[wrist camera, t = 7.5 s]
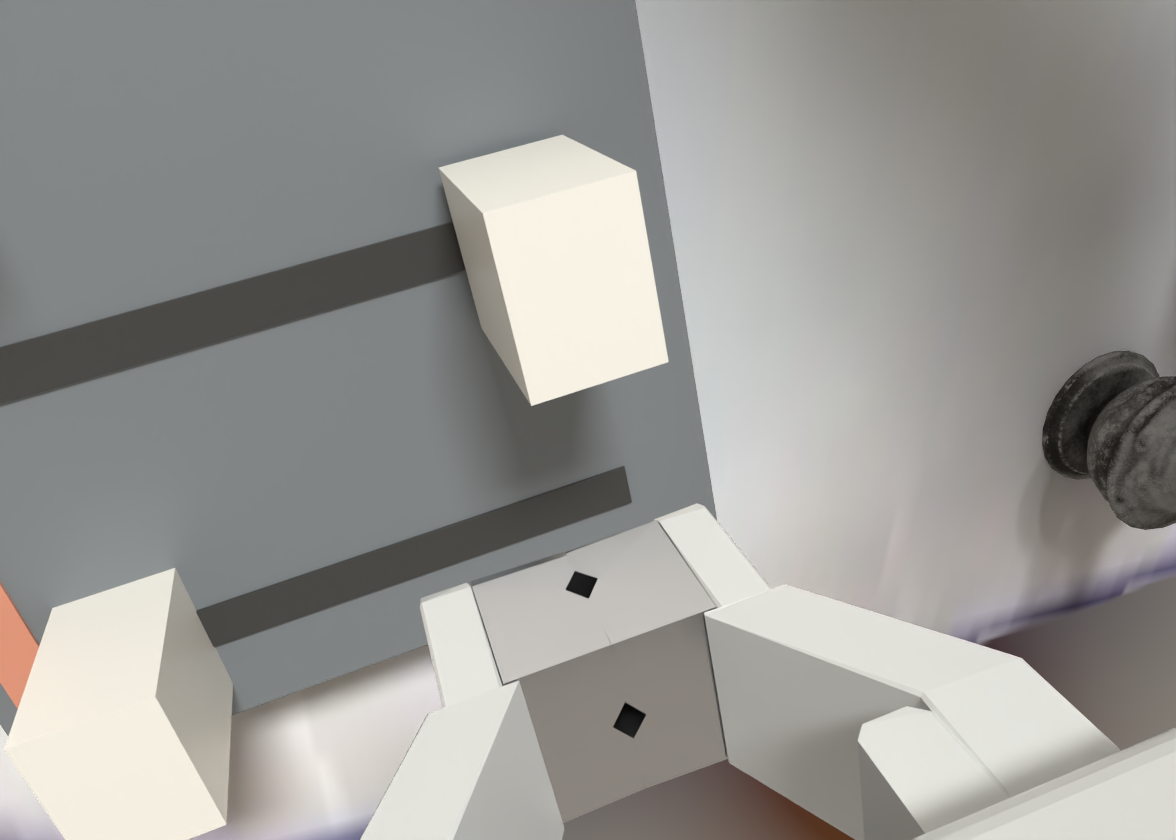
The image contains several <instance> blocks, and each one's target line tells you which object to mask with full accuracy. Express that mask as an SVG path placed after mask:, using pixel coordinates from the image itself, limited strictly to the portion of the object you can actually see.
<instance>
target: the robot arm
mask: <svg viewBox="0 0 1176 840" xmlns="http://www.w3.org/2000/svg"><path fill="white" fill-rule="evenodd" d="M470 583H471V586H472V589H471V586H470V585H469V584H468V583H464V584H461V585H458V586H455V587H452V588H449V589H446V590H443V591H440V592H437V593H434V594H431V595H428V596H425V597H423V598H421V599H420V610H421V615H422V619H423V624H424V628H425V632H426V637H427V641H428V646H429V650H430V655H431V659H432V663H433V668H434V672H435V677H436V681H437V686H438V690H439V695H440V699H441V703H442V708H441V709H439V710H436V711H433V712H431V713H429V714H427V716H426V718H425V720H424V722H423V723H422V725H421V727H420V729H419V731H418V733H417V735H416V737H415V738H414V740H413V742H412V744H411V746H410V748H409V750H408V751H407V753H406V755H405V757H404V759H403V761H402V763H401V764H400V766H399V768H398V770H397V772H396V774H395V776H394V777H393V779H392V781H391V783H390V785H389V787H388V789H387V791H386V792H385V794H384V796H383V798H382V800H381V802H380V804H379V805H378V807H377V809H376V811H375V813H374V815H373V817H372V818H371V820H370V822H369V824H368V826H367V828H366V830H365V832H364V833H363V835H362V837H361V839H360V840H562V837H563V833H564V829H565V828H564V825H563V823H566V822H568V821H570V820H573V819H575V818H577V817H580V816H582V815H584V814H587V813H589V812H591V811H594V810H596V809H598V808H601V807H603V806H605V805H608V804H610V803H612V802H615V801H617V800H620V799H622V798H624V797H627V796H629V795H631V794H634V793H636V792H638V791H641V790H643V789H645V788H648V787H651V786H654V785H657V784H659V783H662V782H665V781H668V780H671V779H673V778H676V777H679V776H682V775H684V774H687V773H690V772H693V771H696V770H698V769H701V768H704V767H707V766H709V765H712V764H715V763H718V762H720V761H723V760H726V759H728V760H729V763H730V764H732V765H733V766H735V767H737V768H738V769H740V770H742V771H743V772H745V773H747V774H748V775H750V776H752V777H753V778H755V779H756V780H758V781H760V782H761V783H763V784H765V785H767V786H768V787H770V788H771V789H773V790H775V791H776V792H778V793H779V794H781V795H783V796H784V797H786V798H788V799H789V800H791V801H793V802H794V803H796V804H798V805H799V806H801V807H803V808H804V809H806V810H807V811H809V812H811V813H812V814H814V815H816V816H817V817H819V818H821V819H822V820H824V821H825V822H827V823H829V824H830V825H832V826H834V827H835V828H837V829H839V830H840V831H842V832H844V833H845V834H847V835H849V836H850V837H852V838H853V839H855V840H1176V728H1173V729H1171V730H1169V731H1166V732H1164V733H1162V734H1159V735H1157V736H1155V737H1152V738H1150V739H1147V740H1145V741H1143V742H1140V743H1138V744H1136V745H1133V746H1131V747H1129V748H1126V749H1124V750H1120V749H1119V748H1118V747H1117V746H1116V745H1115V744H1114V743H1112V741H1110V740H1109V739H1108V738H1107V737H1106V736H1105V735H1104V734H1103V733H1102V732H1101V731H1099V729H1097V728H1096V727H1095V726H1094V725H1093V724H1092V723H1091V722H1090V721H1089V720H1088V719H1087V718H1085V716H1083V715H1082V714H1081V713H1080V712H1079V711H1078V710H1077V709H1076V708H1075V707H1074V706H1073V705H1071V704H1070V703H1069V702H1068V701H1067V700H1066V699H1065V698H1064V697H1063V696H1062V695H1061V694H1060V693H1059V692H1057V691H1056V690H1055V689H1054V688H1053V687H1052V686H1051V685H1050V684H1049V683H1048V682H1047V681H1046V680H1044V679H1043V678H1042V677H1041V676H1040V675H1039V674H1038V673H1037V672H1036V671H1035V670H1034V669H1033V668H1032V667H1030V666H1029V665H1028V664H1027V663H1026V662H1025V661H1024V660H1023V659H1022V658H1019V657H1017V656H1013V655H1010V654H1007V653H1004V652H1001V651H998V650H994V649H991V648H988V647H985V646H982V645H978V644H975V643H972V642H969V641H966V640H962V639H959V638H956V637H953V636H950V635H946V634H943V633H940V632H937V631H934V630H931V629H927V628H924V627H921V626H918V625H915V624H911V623H908V622H905V621H902V620H899V619H895V618H892V617H889V616H886V615H883V614H879V613H876V612H873V611H870V610H867V609H864V608H860V607H857V606H854V605H851V604H848V603H844V602H841V601H838V600H835V599H832V598H828V597H825V596H822V595H819V594H816V593H813V592H809V591H806V590H803V589H800V588H797V587H793V586H790V585H787V584H783V585H781V586H778V587H775V588H771V587H770V586H769V584H768V583H767V582H766V581H765V580H764V578H763V577H762V576H761V575H760V573H759V572H758V571H757V570H756V568H755V567H754V566H753V565H752V564H751V562H750V561H749V560H748V559H747V557H746V556H745V555H744V554H743V553H742V551H741V550H740V549H739V548H738V546H737V545H736V544H735V543H734V541H733V540H732V539H731V538H730V537H729V535H728V534H727V533H726V532H725V530H724V529H723V528H722V527H721V526H720V524H719V523H718V522H717V521H716V519H715V518H714V517H713V516H712V514H711V513H710V512H709V511H708V510H707V508H706V507H705V506H703V505H700V504H698V503H696V504H694V505H691V506H689V507H686V508H683V509H681V510H678V511H675V512H673V513H670V514H667V515H665V516H662V517H659V518H657V519H654V520H653V521H652V522H650V523H647V524H644V525H641V526H638V527H635V528H633V529H630V530H627V531H624V532H621V533H618V534H616V535H613V536H610V537H607V538H604V539H601V540H598V541H596V542H593V543H590V544H587V545H584V546H581V547H579V548H576V549H573V550H570V551H567V552H561V553H558V554H555V555H552V556H548V557H545V558H542V559H539V560H536V561H533V562H530V563H526V564H523V565H520V566H517V567H514V568H511V569H508V570H504V571H501V572H498V573H495V574H492V575H489V576H486V577H482V578H479V579H476V580H473V581H470ZM472 590H473V592H472ZM473 593H474V596H475V599H474V596H473ZM475 600H476V602H475ZM476 603H477V605H476ZM477 606H478V608H477ZM478 609H479V611H478ZM479 612H480V614H479ZM480 615H481V617H480ZM481 619H482V620H481ZM482 622H483V623H482ZM483 625H484V626H483ZM484 628H485V629H484ZM485 631H486V632H485ZM486 634H487V636H486ZM487 638H488V639H487ZM488 641H489V642H488ZM489 644H490V645H489ZM490 647H491V648H490ZM491 650H492V651H491Z"/></svg>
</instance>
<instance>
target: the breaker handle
mask: <svg viewBox="0 0 1176 840" xmlns="http://www.w3.org/2000/svg"><path fill="white" fill-rule="evenodd" d="M439 172H440V176H441V180H442V183H443V187H444V191H445V194H446V198H447V202H448V206H449V209H450V213H451V217H452V220H453V224H454V228H455V232H456V235H457V239H458V243H459V246H460V250H461V254H462V258H463V261H464V265H465V269H466V273H467V276H468V280H469V284H470V287H471V291H472V295H473V299H474V302H475V306H476V310H477V313H478V317H479V321H480V325H481V328H482V330H483V331H484V333H485V334H486V336H487V337H488V339H489V341H490V342H491V344H492V345H493V347H494V348H495V350H496V352H497V353H498V355H499V356H500V358H501V359H502V361H503V363H504V364H505V366H506V367H507V369H508V370H509V372H510V373H511V375H512V377H513V378H514V380H515V381H516V383H517V384H518V386H519V388H520V389H521V391H522V392H523V394H524V395H525V397H526V399H527V400H528V402H529V403H530V405H531V406H533V405H536V404H539V403H542V402H545V401H549V400H552V399H555V398H558V397H561V396H564V395H567V394H570V393H574V392H577V391H580V390H583V389H586V388H589V387H592V386H595V385H599V384H602V383H605V382H608V381H611V380H614V379H617V378H621V377H624V376H627V375H630V374H633V373H636V372H639V371H642V370H646V369H649V368H652V367H655V366H658V365H661V364H664V363H667V362H669V361H668V355H667V349H666V343H665V338H664V332H663V326H662V320H661V314H660V308H659V302H658V296H657V291H656V285H655V279H654V273H653V267H652V261H651V255H650V250H649V244H648V238H647V232H646V226H645V220H644V214H643V208H642V203H641V197H640V191H639V185H638V179H637V173H636V170H634V169H632V168H629V167H627V166H625V165H623V164H621V163H619V162H617V161H615V160H613V159H611V158H609V157H607V156H605V155H603V154H601V153H599V152H597V151H595V150H593V149H591V148H589V147H587V146H585V145H583V144H581V143H578V142H576V141H574V140H572V139H570V138H568V137H566V136H564V135H559V136H555V137H552V138H548V139H544V140H540V141H537V142H533V143H529V144H525V145H522V146H518V147H514V148H510V149H506V150H503V151H499V152H495V153H491V154H488V155H484V156H480V157H476V158H473V159H469V160H465V161H461V162H458V163H454V164H450V165H446V166H443V167H439Z"/></svg>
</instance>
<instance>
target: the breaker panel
mask: <svg viewBox="0 0 1176 840" xmlns="http://www.w3.org/2000/svg"><path fill="white" fill-rule="evenodd" d="M559 135H564V136H566V137H568V138H570V139H572V140H574V141H576V142H578V143H581V144H583V145H585V146H587V147H589V148H591V149H593V150H595V151H597V152H599V153H601V154H603V155H605V156H607V157H609V158H611V159H613V160H615V161H617V162H619V163H621V164H623V165H625V166H627V167H629V168H632V169H634V170H636V173H637V179H638V185H639V191H640V197H641V203H642V208H643V214H644V220H645V226H646V232H647V238H648V244H649V250H650V255H651V261H652V267H653V273H654V279H655V285H656V291H657V296H658V302H659V308H660V314H661V320H662V326H663V332H664V338H665V343H666V349H667V355H668V361H669V362H667V363H664V364H661V365H658V366H655V367H652V368H649V369H646V370H642V371H639V372H636V373H633V374H630V375H627V376H624V377H621V378H617V379H614V380H611V381H608V382H605V383H602V384H599V385H595V386H592V387H589V388H586V389H583V390H580V391H577V392H574V393H570V394H567V395H564V396H561V397H558V398H555V399H552V400H549V401H545V402H542V403H539V404H536V405H533V406H531V405H530V403H529V402H528V400H527V399H526V397H525V395H524V394H523V392H522V391H521V389H520V388H519V386H518V384H517V383H516V381H515V380H514V378H513V377H512V375H511V373H510V372H509V370H508V369H507V367H506V366H505V364H504V363H503V361H502V359H501V358H500V356H499V355H498V353H497V352H496V350H495V348H494V347H493V345H492V344H491V342H490V341H489V339H488V337H487V336H486V334H485V333H484V331H483V330H482V328H481V325H480V321H479V317H478V313H477V310H476V306H475V302H474V299H473V295H472V291H471V287H470V284H469V280H468V276H467V273H466V269H465V265H464V261H463V258H462V254H461V250H460V246H459V243H458V239H457V235H456V232H455V228H454V224H453V220H452V217H451V213H450V209H449V206H448V202H447V198H446V194H445V191H444V187H443V183H442V180H441V176H440V172H439V167H443V166H446V165H450V164H454V163H458V162H461V161H465V160H469V159H473V158H476V157H480V156H484V155H488V154H491V153H495V152H499V151H503V150H506V149H510V148H514V147H518V146H522V145H525V144H529V143H533V142H537V141H540V140H544V139H548V138H552V137H555V136H559ZM696 503H698V504H700V505H703V506H705V507H706V508H707V510H708V511H709V512H710V513H711V514H712V516H713V517H714V518H715V519H716V521H717V518H716V511H715V505H714V499H713V492H712V486H711V480H710V473H709V467H708V461H707V454H706V448H705V442H704V435H703V429H702V423H701V416H700V410H699V403H698V397H697V391H696V384H695V378H694V372H693V365H692V359H691V353H690V346H689V340H688V334H687V327H686V321H685V315H684V308H683V302H682V296H681V289H680V283H679V277H678V270H677V264H676V257H675V251H674V245H673V238H672V232H671V226H670V219H669V213H668V207H667V200H666V194H665V188H664V181H663V175H662V169H661V162H660V156H659V150H658V143H657V137H656V131H655V124H654V118H653V111H652V105H651V99H650V92H649V86H648V80H647V73H646V67H645V61H644V54H643V48H642V42H641V35H640V29H639V23H638V16H637V10H636V4H635V0H0V725H1V726H2V728H3V729H4V731H5V732H6V734H7V735H8V739H7V742H6V745H5V748H4V751H5V752H6V754H7V755H8V757H9V758H10V760H11V761H12V763H13V764H14V766H15V767H16V768H17V770H18V771H19V773H20V774H21V776H22V777H23V779H24V780H25V782H26V783H27V785H28V786H29V787H30V789H31V790H32V792H33V793H34V795H35V796H36V798H37V799H38V801H39V802H40V804H41V805H42V806H43V808H44V809H45V811H46V812H47V814H48V815H49V817H50V818H51V820H52V821H53V823H54V824H55V825H56V827H57V828H58V830H59V831H60V833H61V834H62V836H63V837H64V839H65V840H188V839H191V838H193V837H196V836H199V835H201V834H204V833H207V832H209V831H212V830H214V829H217V828H220V827H222V826H225V825H227V807H228V785H229V763H230V741H231V719H232V715H234V714H237V713H239V712H242V711H245V710H248V709H251V708H253V707H256V706H259V705H262V704H264V703H267V702H270V701H273V700H275V699H278V698H281V697H284V696H287V695H289V694H292V693H295V692H298V691H300V690H303V689H306V688H309V687H311V686H314V685H317V684H320V683H323V682H325V681H328V680H331V679H334V678H336V677H339V676H342V675H345V674H347V673H350V672H353V671H356V670H359V669H361V668H364V667H367V666H370V665H372V664H375V663H378V662H381V661H384V660H386V659H389V658H392V657H395V656H397V655H400V654H403V653H406V652H408V651H411V650H414V649H417V648H420V647H422V646H425V645H428V641H427V637H426V632H425V628H424V624H423V619H422V615H421V610H420V599H421V598H423V597H425V596H428V595H431V594H434V593H437V592H440V591H443V590H446V589H449V588H452V587H455V586H458V585H461V584H464V583H468V584H469V585H470V586H471V583H470V581H473V580H476V579H479V578H482V577H486V576H489V575H492V574H495V573H498V572H501V571H504V570H508V569H511V568H514V567H517V566H520V565H523V564H526V563H530V562H533V561H536V560H539V559H542V558H545V557H548V556H552V555H555V554H558V553H561V552H567V551H570V550H573V549H576V548H579V547H581V546H584V545H587V544H590V543H593V542H596V541H598V540H601V539H604V538H607V537H610V536H613V535H616V534H618V533H621V532H624V531H627V530H630V529H633V528H635V527H638V526H641V525H644V524H647V523H650V522H652V521H653V520H654V519H657V518H659V517H662V516H665V515H667V514H670V513H673V512H675V511H678V510H681V509H683V508H686V507H689V506H691V505H694V504H696ZM471 589H472V586H471ZM472 592H473V590H472ZM473 596H474V593H473ZM474 599H475V596H474ZM475 602H476V600H475ZM476 605H477V603H476ZM477 608H478V606H477ZM478 611H479V609H478ZM479 614H480V612H479ZM480 617H481V615H480ZM481 620H482V619H481ZM482 623H483V622H482Z"/></svg>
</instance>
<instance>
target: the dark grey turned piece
mask: <svg viewBox="0 0 1176 840" xmlns="http://www.w3.org/2000/svg"><path fill="white" fill-rule="evenodd" d="M1043 448H1044V452H1045V457H1046V459H1047V461H1048V462H1049V464H1050V465H1051V467H1052V468H1053V469H1054V470H1056V471H1057V472H1059V473H1060V474H1062V475H1063V476H1065V477H1069V478H1073V479H1087V478H1092V480H1093V481H1094V483H1095V485H1096V486H1097V488H1098V489H1099V491H1100V492H1101V494H1102V495H1103V497H1104V498H1105V500H1107V501H1108V502H1109V503H1110V506H1111V508H1112V510H1113V511H1114V513H1115V514H1116V516H1117V518H1119V519H1120V520H1122V521H1123V522H1125V523H1126V524H1128V525H1129V526H1131V527H1135V528H1140V529H1145V530H1147V529H1155V528H1163V527H1166V526H1169V525H1171V524H1174V523H1176V377H1159V375H1158V373H1157V371H1156V369H1155V367H1154V365H1153V364H1152V363H1151V362H1150V361H1149V360H1148V359H1146V358H1145V357H1144V356H1142V355H1140V354H1136V353H1133V352H1130V351H1118V352H1112V353H1109V354H1106V355H1103V356H1100V357H1097V358H1096V359H1094V360H1092V361H1091V362H1089V363H1088V364H1086V365H1084V366H1083V367H1082V368H1081V369H1079V370H1078V371H1077V372H1076V373H1075V374H1074V375H1073V376H1072V377H1071V378H1070V379H1069V380H1068V381H1067V382H1066V383H1065V385H1064V386H1063V387H1062V389H1061V390H1060V391H1059V393H1058V394H1057V396H1056V397H1055V399H1054V401H1053V403H1052V405H1051V407H1050V409H1049V411H1048V414H1047V418H1046V421H1045V425H1044V428H1043Z"/></svg>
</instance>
